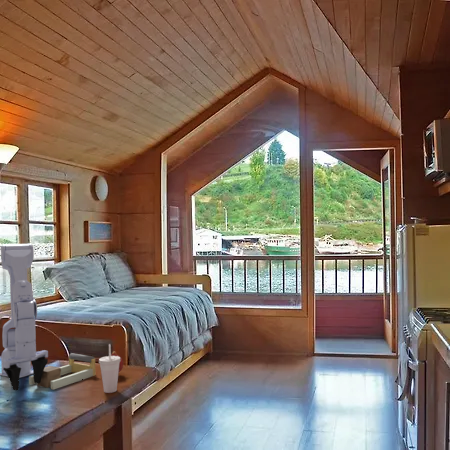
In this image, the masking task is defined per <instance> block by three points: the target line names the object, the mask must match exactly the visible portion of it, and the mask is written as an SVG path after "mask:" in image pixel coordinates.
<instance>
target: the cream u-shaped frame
mask: <svg viewBox="0 0 450 450" xmlns="http://www.w3.org/2000/svg"><path fill="white" fill-rule="evenodd" d="M75 361H79V362H80V361H81V362H86V363H89V364H85V363H79V362H75ZM58 367H59V366H58ZM59 368H60V369H61V378H59V379H56V380H53V381H51V387H50V390H56V389H60V388H63V387H65V386H68V385H72V384H73V383H77V382H81V381H83V380H86V379H89V378H91V377H94V376H96V375H97V374H96V358H95V356H91V355H86V354H78V353H74V352H73V353H72V352H71V353H69V355H68V364H66V365H63V366H60V367H59ZM70 373H72V374H70ZM67 374H68V375H67ZM63 375H65V376H63ZM62 376H63V377H62ZM82 379H83V380H82ZM28 384H29V385H32V386H33V385H35V384H36V385H37V383H34V374H32V375H28Z"/></svg>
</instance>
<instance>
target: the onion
mask: <svg viewBox="0 0 450 450" xmlns="http://www.w3.org/2000/svg"><path fill="white" fill-rule="evenodd" d="M111 356H118V357H120V360H121V361H120V362H119V372H118V374H119V373H120V372H121V371H122V370H123V369H124V361H123V358H122V357H121V356H120V355H118V354H117V351H114V350H113V351H112V352H111Z"/></svg>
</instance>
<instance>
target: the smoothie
mask: <svg viewBox="0 0 450 450" xmlns="http://www.w3.org/2000/svg"><path fill="white" fill-rule="evenodd" d="M111 347H112V346H111V343H109V344H108V356H107V355H106V356H102V357H100V358H99V359H98V364H99V365H100V366H99V367H100V373H101V378H102V379H101V381H102V387H103V392H104V393H108V394H112V393H115V392H117V391H118V390H117V389H118V382H119V381H118V379H119V373H120V372H119V362H120V361H121V360H120V357H121V356H120V357H118V356H111V355H112V352H111V350H112V349H111ZM118 372H119V373H118Z"/></svg>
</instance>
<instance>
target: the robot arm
mask: <svg viewBox="0 0 450 450" xmlns="http://www.w3.org/2000/svg"><path fill="white" fill-rule="evenodd" d="M34 251H35V250H34V245H33V244H32V243H18V244H17V243H15V244H12V243H11V244H10V243H9V244H4V243H3V244H2V245H1V246H0V261H1V267H2V269H3V270H6V271H7V272H8V276H9V287H10V288H9V289H10V291H9V292H10V319H9V320H8V321H6V322H5V323H4V324H3V326H2V336H1V337H2V347H3V348H4V350H3V351H2V352H1V356H0V357H1V358H0V361H1V373H0V376H2V377H7V378H8V380H9V382H10V386H11V389H12V390H13V391H19V389H20V379H21V378H24V377H27V376H32V375H34V383H36V384H37V383H38V384H39V383H40V382H41V378H42V374H43V371H44V368H45V367H47V364H48V363H49V362H48V361H49V360H48V357H49V351H48V350H45V349H44V350H43V349H42V350H40V351H39V350H38V351H37V344H36V343H37V342H36V340H37V339H36V338H37V337H36V336H37V335H36V334H37V333H36V320H37V317H38V305H37V301H36V298H35V297H34V291H33V284H32V283H31V282H30V281H28V269H29V268H31V267H32V265H33V261H34V258H35V257H34V255H35V254H34V253H35V252H34Z"/></svg>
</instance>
